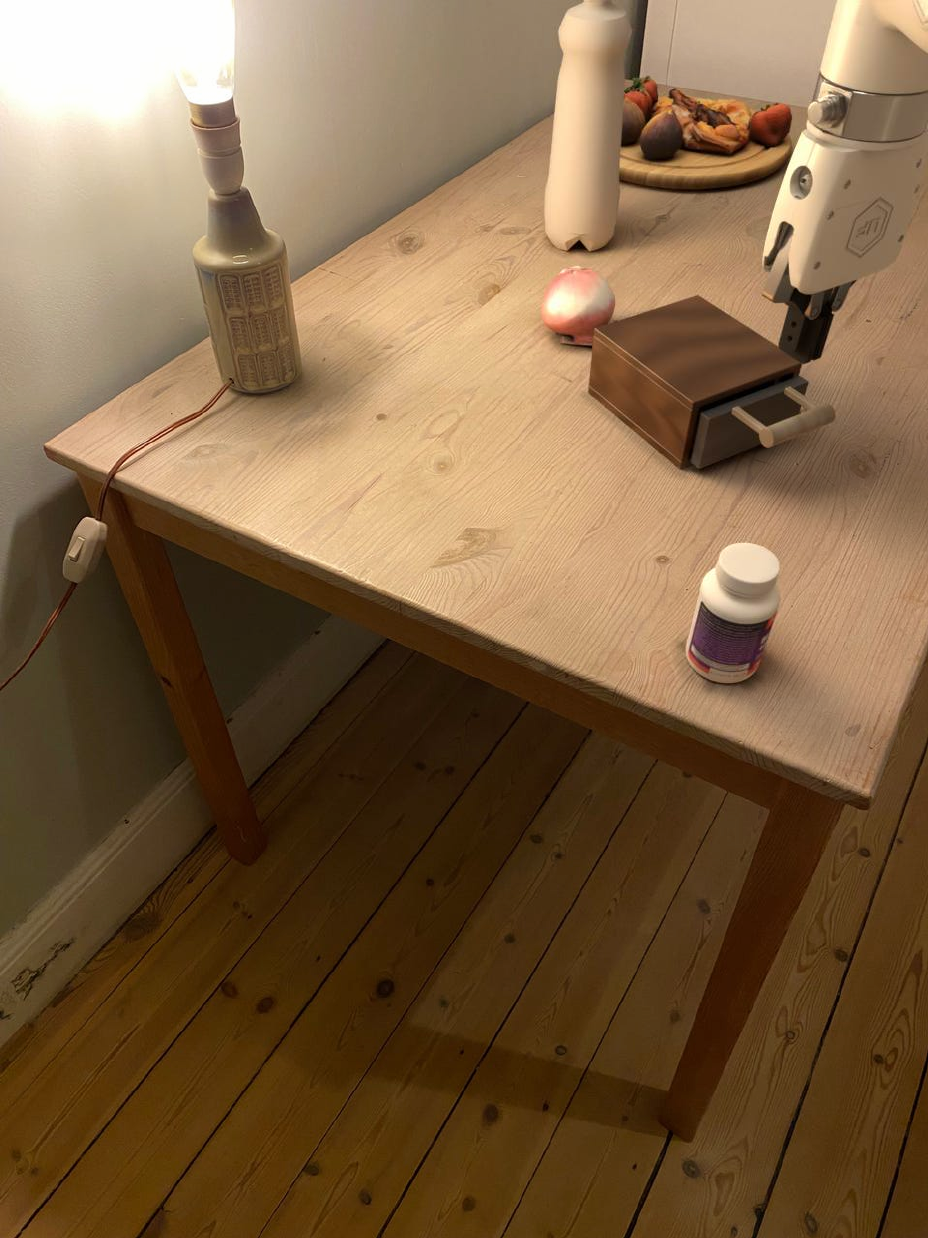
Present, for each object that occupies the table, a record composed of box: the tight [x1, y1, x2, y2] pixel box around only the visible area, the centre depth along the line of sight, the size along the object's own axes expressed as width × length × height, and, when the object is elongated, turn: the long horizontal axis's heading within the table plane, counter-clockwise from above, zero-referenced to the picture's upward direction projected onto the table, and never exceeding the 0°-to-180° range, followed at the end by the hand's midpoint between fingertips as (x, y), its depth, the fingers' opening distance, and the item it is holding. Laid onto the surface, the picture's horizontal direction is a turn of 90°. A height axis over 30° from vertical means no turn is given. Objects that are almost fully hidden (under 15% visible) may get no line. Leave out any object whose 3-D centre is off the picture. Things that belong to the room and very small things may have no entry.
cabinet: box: [587, 294, 803, 470], centre depth 87 cm, size 15×13×7 cm
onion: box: [540, 265, 618, 347], centre depth 97 cm, size 8×8×7 cm
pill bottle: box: [685, 542, 781, 684], centre depth 64 cm, size 5×5×10 cm
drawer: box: [691, 375, 837, 470], centre depth 84 cm, size 19×11×6 cm, turn 30°
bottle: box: [543, 0, 633, 252], centre depth 104 cm, size 9×9×30 cm
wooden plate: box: [619, 75, 793, 190], centre depth 132 cm, size 32×32×8 cm
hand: (798, 353), depth 74 cm, fingers closed
